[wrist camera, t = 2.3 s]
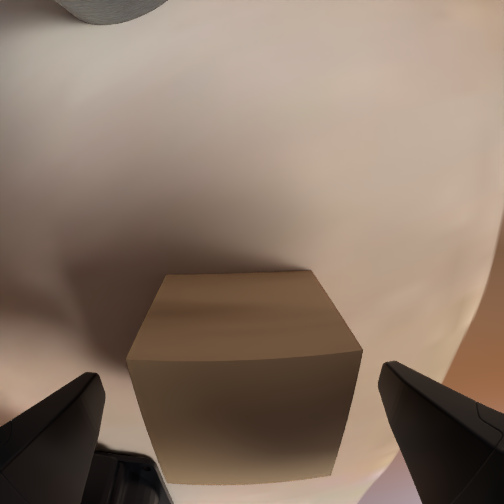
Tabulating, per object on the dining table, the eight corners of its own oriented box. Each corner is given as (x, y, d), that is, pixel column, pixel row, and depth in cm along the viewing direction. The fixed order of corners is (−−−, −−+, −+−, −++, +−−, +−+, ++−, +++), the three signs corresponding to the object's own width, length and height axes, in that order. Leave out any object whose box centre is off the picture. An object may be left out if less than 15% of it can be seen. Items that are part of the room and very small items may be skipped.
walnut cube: (302, 380, 13) (330, 475, 8) (182, 385, 12) (167, 483, 8) (310, 269, 11) (362, 349, 6) (166, 274, 11) (126, 359, 6)
